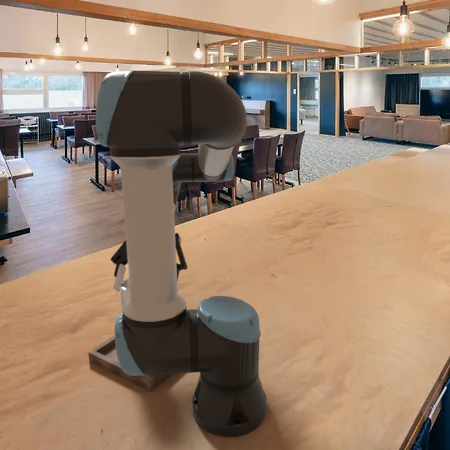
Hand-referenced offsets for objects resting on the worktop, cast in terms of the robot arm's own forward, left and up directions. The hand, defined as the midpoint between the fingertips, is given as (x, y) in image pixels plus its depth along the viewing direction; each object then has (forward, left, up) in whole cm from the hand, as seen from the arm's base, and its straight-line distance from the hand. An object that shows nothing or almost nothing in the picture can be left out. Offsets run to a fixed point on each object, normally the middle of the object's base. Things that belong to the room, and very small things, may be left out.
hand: (141, 292), depth 98 cm
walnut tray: (-3, +3, -15) cm, 15 cm away
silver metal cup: (-2, +4, -10) cm, 11 cm away
